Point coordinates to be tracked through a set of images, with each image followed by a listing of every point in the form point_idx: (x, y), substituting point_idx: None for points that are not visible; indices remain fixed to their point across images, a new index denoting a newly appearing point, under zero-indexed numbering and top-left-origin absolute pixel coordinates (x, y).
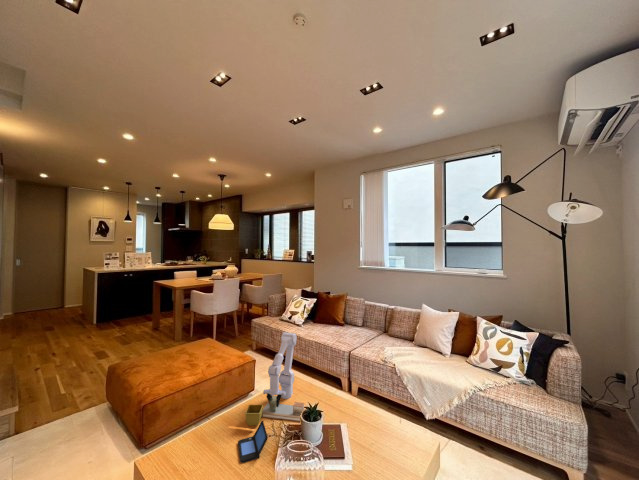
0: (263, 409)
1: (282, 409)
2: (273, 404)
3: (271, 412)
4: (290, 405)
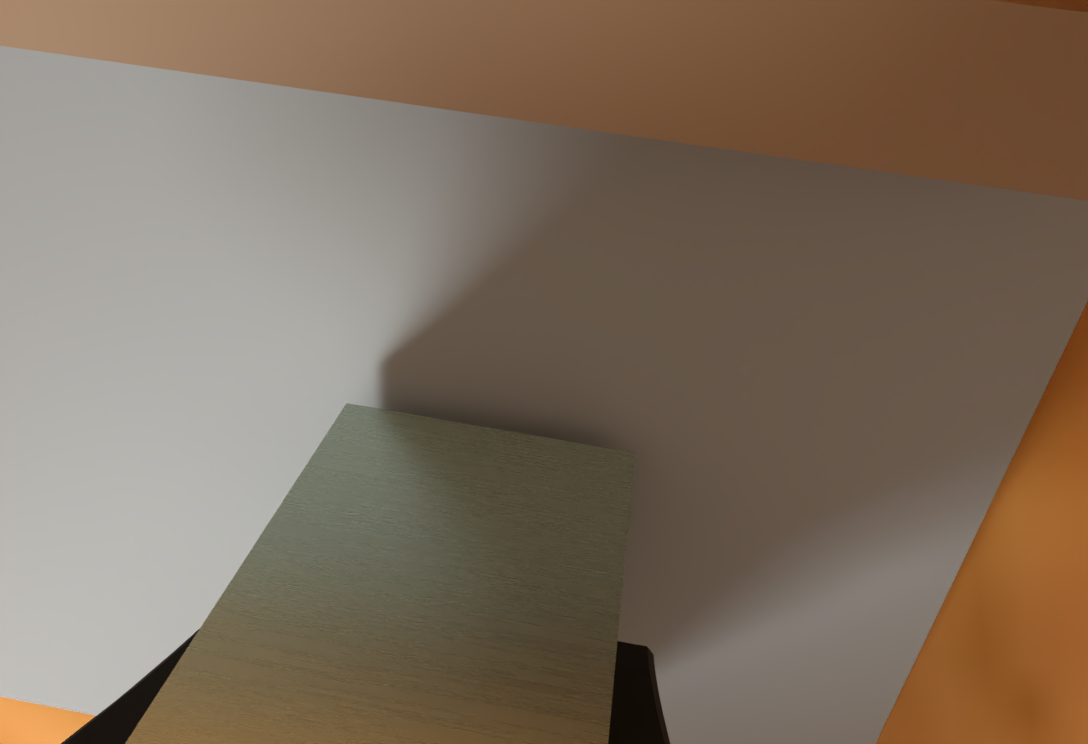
0: (948, 548)
1: (158, 520)
2: (345, 644)
3: (529, 353)
4: (12, 686)
